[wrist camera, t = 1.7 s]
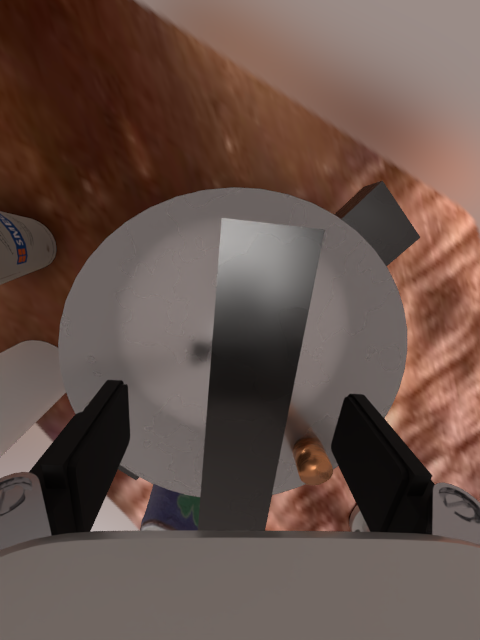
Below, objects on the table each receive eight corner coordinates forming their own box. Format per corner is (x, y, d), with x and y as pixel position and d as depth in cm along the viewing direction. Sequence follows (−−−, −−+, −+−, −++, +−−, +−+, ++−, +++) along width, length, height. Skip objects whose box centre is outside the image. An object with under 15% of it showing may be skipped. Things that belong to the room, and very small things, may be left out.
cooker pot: (379, 285, 27) (490, 324, 16) (210, 427, 32) (201, 535, 21) (265, 139, 22) (306, 41, 11) (87, 333, 27) (-13, 405, 16)
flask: (157, 456, 33) (126, 555, 23) (174, 444, 33) (150, 540, 22) (203, 494, 36) (194, 598, 26) (219, 484, 35) (217, 586, 25)
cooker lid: (50, 166, 12) (-116, 105, 6) (441, 215, 13) (602, 203, 8) (86, 478, 18) (21, 593, 12) (350, 487, 19) (401, 593, 14)
